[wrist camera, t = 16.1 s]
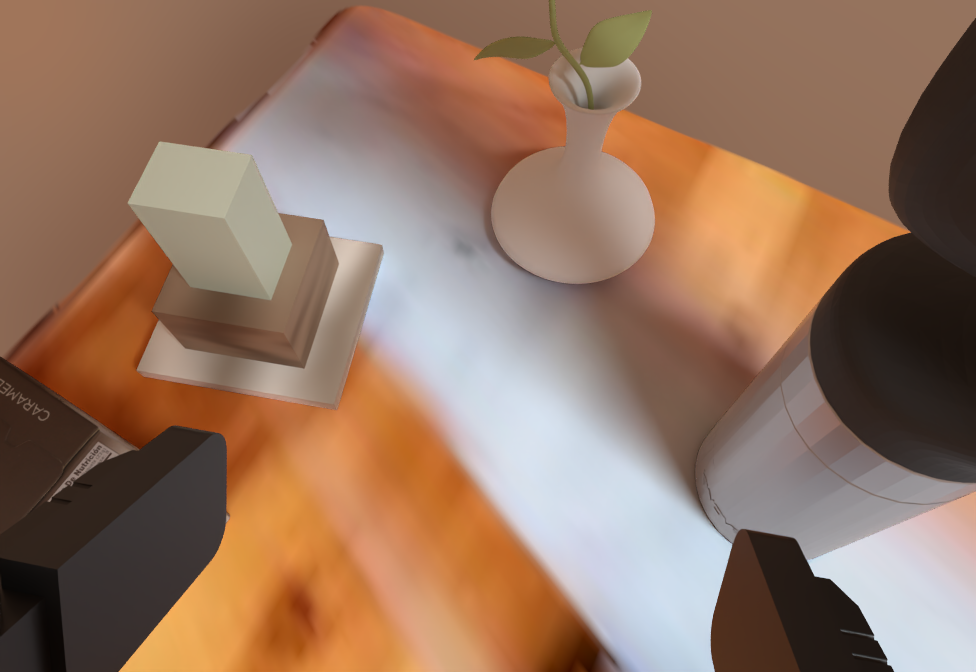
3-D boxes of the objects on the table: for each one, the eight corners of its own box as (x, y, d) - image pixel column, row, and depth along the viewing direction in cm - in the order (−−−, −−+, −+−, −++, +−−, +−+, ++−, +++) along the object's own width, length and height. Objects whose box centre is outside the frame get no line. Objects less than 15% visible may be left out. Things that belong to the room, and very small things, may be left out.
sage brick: (292, 244, 43) (251, 155, 36) (271, 300, 41) (224, 218, 34) (214, 231, 43) (159, 141, 36) (190, 286, 42) (127, 203, 34)
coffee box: (45, 530, 41) (-193, 445, 27) (122, 439, 44) (-59, 317, 29) (164, 615, 39) (-27, 571, 25) (238, 514, 42) (104, 422, 27)
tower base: (383, 252, 50) (370, 200, 44) (337, 410, 44) (315, 371, 39) (209, 226, 51) (175, 171, 46) (143, 376, 46) (96, 334, 40)
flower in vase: (651, 172, 53) (766, -207, 31) (649, 304, 48) (785, -35, 25) (478, 157, 54) (467, -224, 31) (458, 285, 49) (428, -60, 26)
